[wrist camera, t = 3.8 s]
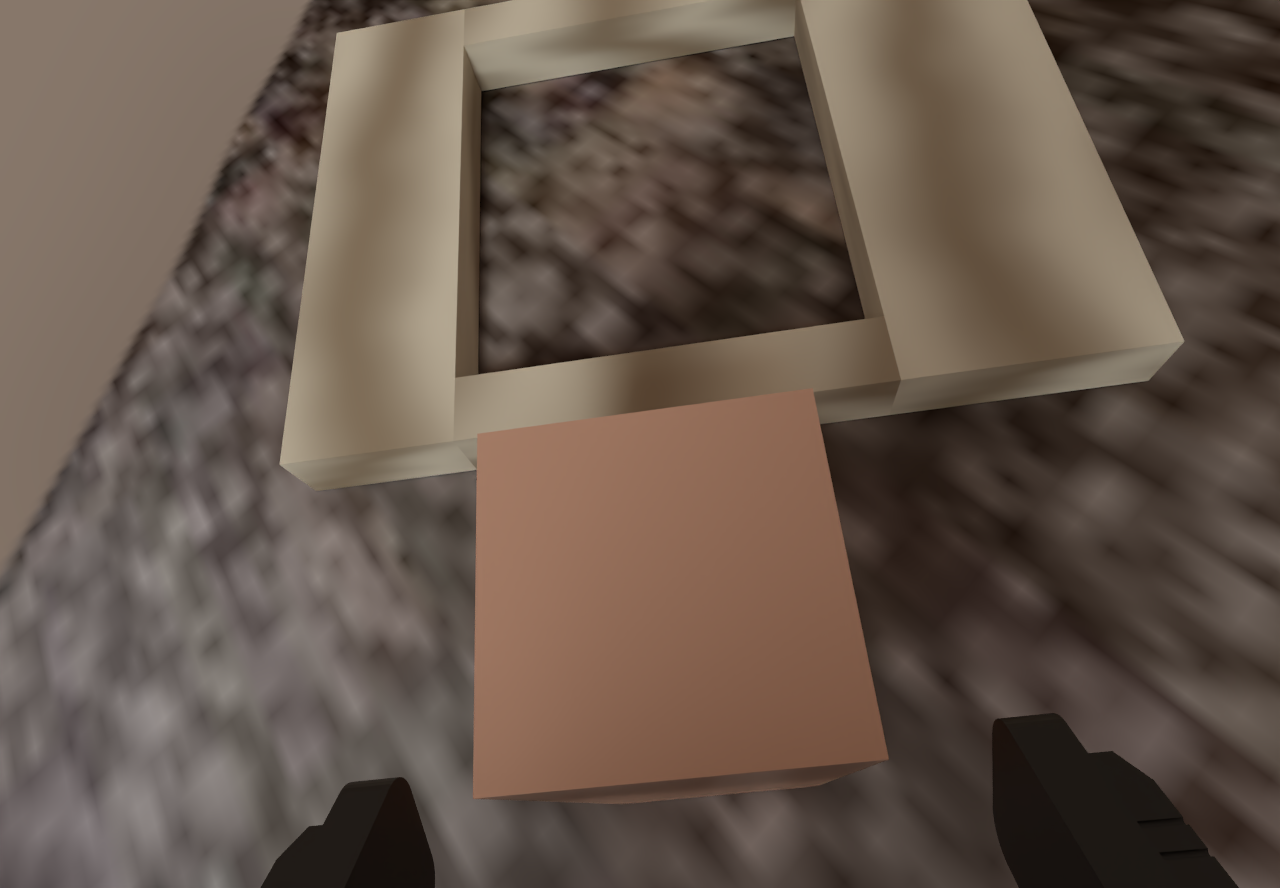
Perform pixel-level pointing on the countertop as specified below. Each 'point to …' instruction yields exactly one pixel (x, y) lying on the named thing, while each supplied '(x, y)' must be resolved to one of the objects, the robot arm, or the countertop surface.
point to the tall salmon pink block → (666, 608)
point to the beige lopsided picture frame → (743, 366)
